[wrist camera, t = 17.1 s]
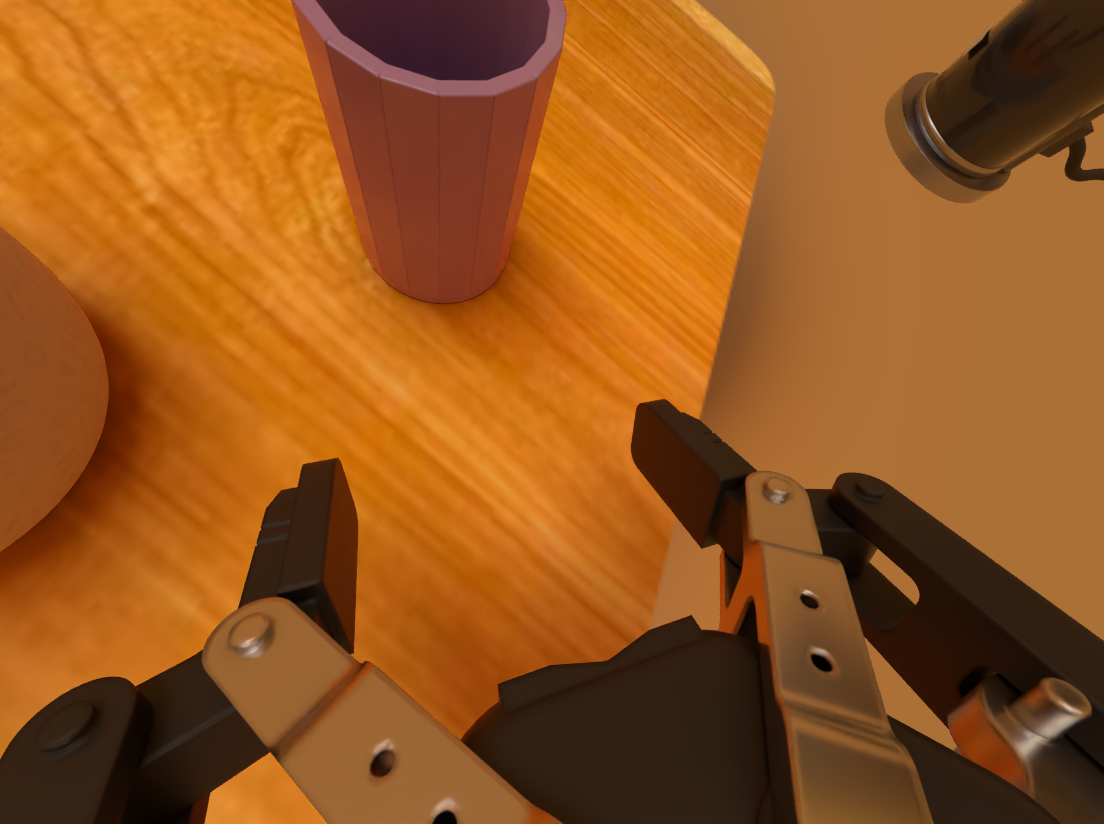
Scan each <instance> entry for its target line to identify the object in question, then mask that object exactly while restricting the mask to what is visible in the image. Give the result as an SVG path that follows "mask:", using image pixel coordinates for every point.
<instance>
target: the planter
mask: <svg viewBox="0 0 1104 824" xmlns="http://www.w3.org/2000/svg"><path fill="white" fill-rule="evenodd" d="M108 398H109V382H108V373H107V367H106V362H105V358H104V354H103V351H102V348H101V345H100V342H99V340H98V337H97V335H96V333H95V331H94V329H93V327H92V325H91V323H90V321H89V320H88V318H87V316H86V315H85V313H84V312H83V310H82V309H81V307H80V306H79V304H78V303H77V301H76V300H75V299H74V297H73V296H72V295H71V294H70V292H69V291H68V290H67V288H66V287H65V286H64V285H63V284H62V283H61V281H60V280H59V279H58V278H57V277H56V276H55V275H54V274H53V273H52V271H51V270H50V269H49V268H48V267H46V266H45V265H44V264H43V263H42V262H41V261H40V260H39V259H38V258H36V257H35V256H34V255H33V254H32V253H31V252H30V251H28V250H27V249H26V248H25V247H24V246H23V245H21V244H20V243H19V242H18V241H17V240H16V239H15V238H13V237H12V236H11V235H10V234H9V233H7V232H6V231H5V230H4V229H3V228H1V227H0V552H1V551H2V550H4V549H5V548H6V547H8V546H9V545H11V544H12V543H13V542H15V541H16V540H17V539H19V538H20V537H21V536H23V535H24V534H25V533H26V532H28V531H29V530H30V529H31V528H32V527H34V526H35V525H36V524H37V523H38V522H39V521H41V520H42V519H43V518H44V517H45V516H46V515H47V514H48V513H49V512H50V511H51V510H52V509H53V508H54V507H55V506H56V505H57V504H58V503H59V502H60V501H61V500H62V498H63V497H64V496H65V495H66V494H67V493H68V491H69V490H70V489H71V487H72V486H73V485H74V484H75V482H76V481H77V479H78V478H79V477H80V475H81V474H82V472H83V471H84V469H85V467H86V466H87V464H88V462H89V461H90V459H91V457H92V455H93V453H94V451H95V449H96V446H97V444H98V442H99V439H100V436H101V433H102V430H103V427H104V423H105V419H106V414H107V408H108Z"/></svg>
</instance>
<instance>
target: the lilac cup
mask: <svg viewBox="0 0 1104 824" xmlns="http://www.w3.org/2000/svg"><path fill="white" fill-rule="evenodd" d="M291 2H292V5H293V8H294V12H295V15H296V19H297V22H298V26H299V29H300V32H301V36H302V39H303V43H304V46H305V49H306V53H307V56H308V60H309V63H310V67H311V70H312V73H313V77H314V80H315V84H316V87H317V90H318V94H319V97H320V101H321V104H322V108H323V111H324V114H325V118H326V121H327V125H328V128H329V131H330V135H331V138H332V142H333V145H334V149H335V152H336V155H337V159H338V162H339V166H340V169H341V172H342V176H343V179H344V183H345V186H346V189H347V193H348V196H349V200H350V203H351V207H352V210H353V213H354V217H355V220H356V224H357V227H358V230H359V234H360V237H361V241H362V244H363V248H364V250H365V252H366V254H367V257H368V259H369V261H370V263H371V264H372V266H373V267H374V269H375V270H376V272H377V273H378V274H379V275H380V276H381V277H382V278H383V279H384V280H385V281H386V282H387V283H388V284H389V285H391V286H392V287H394V288H395V289H396V290H398V291H400V292H402V293H404V294H405V295H407V296H410V297H412V298H415V299H418V300H422V301H426V302H432V303H455V302H460V301H465V300H468V299H471V298H473V297H475V296H477V295H479V294H481V293H483V292H484V291H486V290H487V289H488V288H489V287H491V286H492V285H493V284H494V283H495V282H496V280H497V279H498V278H499V277H500V275H501V273H502V272H503V270H504V267H505V265H506V262H507V261H508V258H509V254H510V250H511V246H512V242H513V238H514V234H515V231H516V227H517V223H518V219H519V215H520V211H521V207H522V203H523V199H524V195H525V192H526V188H527V184H528V180H529V176H530V172H531V168H532V164H533V160H534V156H535V153H536V149H537V145H538V141H539V137H540V133H541V129H542V125H543V121H544V117H545V114H546V110H547V106H548V102H549V98H550V94H551V90H552V86H553V82H554V79H555V75H556V71H557V67H558V63H559V59H560V55H561V51H562V46H563V38H564V31H565V24H566V17H567V14H566V9H565V6H564V3H563V0H291Z"/></svg>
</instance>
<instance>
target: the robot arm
mask: <svg viewBox="0 0 1104 824" xmlns="http://www.w3.org/2000/svg"><path fill="white" fill-rule="evenodd" d="M992 24H993V23H992ZM992 24H991V25H992ZM991 25H990V26H989V27H987V29H985V30H984V31H983V32H982V33H981V34H980V35H979V36H977V37H976V38H975V39H974V40H973V42H972V43H971V45H970V46H969V48H968V49H967V50H966V51H965V52H964V53H963V54H962V55H961V56H960V57H958V58H957V59H956V60H955V61H954V62H953V63H952V64H951V65H949V66H948V68H946V69H945V70H944V71H943V72H942V73H940V74H939V75H938V76H936V77H934V78H933V79H932V80H930V81H929V82H928V83H927V84H926V85H925V86H924V87H923V88H922V89H921V90H920V91H919V92H918V94H917V96H916V99H915V115H916V119H917V123H918V125H919V128H920V130H921V132H922V134H923V136H924V138H925V139H926V141H927V142H928V144H929V145H930V146H931V148H932V149H933V150H934V152H935V153H936V154H937V155H938V156H939V157H940V158H941V159H942V160H943V161H945V162H946V163H947V164H948V165H950V166H951V167H952V168H954V169H956V170H957V171H959V172H961V173H963V174H966V175H969V176H972V177H978V178H982V177H988V176H990V175H992V174H994V173H996V172H998V173H1001V174H1005V173H1006V172H1008V171H1010V170H1011V169H1013V168H1015V167H1016V166H1018V165H1020V164H1021V163H1023V162H1024V161H1026V160H1028V159H1029V158H1031V157H1033V156H1034V155H1036V154H1038V153H1039V154H1041V155H1044V156H1046V157H1051V156H1053V155H1054V154H1056V153H1058V152H1059V151H1061V150H1062V149H1064V148H1066V147H1068V146H1069V151H1070V152H1069V157H1068V160H1067V162H1066V165H1065V174H1066V176H1067V177H1068V178H1069V179H1071V180H1074V181H1088V180H1104V169H1092V170H1082V169H1081V167H1080V166H1081V162H1082V160H1083V157H1084V155H1085V151H1086V143H1085V139H1084V137H1085V136H1086V135H1088V134H1090V133H1091V132H1093V131H1094V130H1093V126H1092V123H1091V121H1092V120H1093V119H1095V118H1096V117H1098V116H1100V115H1102V114H1103V113H1104V0H1022V1H1021V2H1020V3H1019V4H1018V5H1017V6H1016V7H1015V8H1013V9H1012V10H1011V11H1010V12H1009V13H1008V14H1007V15H1006V16H1004V17H1003V18H1002V19H1001V20H1000V21H999V22H998V23H997V24H995V25H994V26H993V27H992V28H991V29H990V30H989V28H990V27H991ZM988 30H989V31H988ZM987 31H988V32H987ZM631 453H632V458H633V461H634V463H635V465H636V466H637V468H638V469H639V470H640V472H641V473H642V474H643V475H644V477H645V478H646V479H647V480H648V482H649V483H650V484H651V485H652V487H653V488H654V489H655V491H656V492H657V493H658V494H659V496H660V497H661V498H662V499H663V501H664V502H665V503H666V504H667V506H668V507H669V508H670V509H671V511H672V512H673V513H674V515H675V516H676V517H677V518H678V520H679V521H680V522H681V523H682V525H683V526H684V527H685V528H686V530H687V531H688V532H689V533H690V535H691V536H692V537H693V539H694V540H695V541H696V542H697V544H698V545H699V546H700V547H701V549H702V548H705V547H708V546H711V545H715V544H719V545H720V546H721V547H722V552H721V555H720V624H719V630H718V631H715V630H701V629H700V627H699V626H698V624H697V623H696V621H695V620H694V618H693V617H692V615H690V616H688V617H685V618H682V619H680V620H677V621H674V622H671V623H668V624H665V625H662V626H660V627H657V628H654V629H651V630H648V631H647V632H646V633H644V634H643V635H642V636H640V637H639V638H638V639H636V640H635V641H634V642H632V643H631V644H630V645H628V646H627V647H626V648H624V649H623V650H622V651H620V652H619V653H618V654H616V655H615V656H614V657H612V658H611V659H609V660H607V661H602V662H589V663H575V664H561V665H550V666H547V667H544V668H541V669H538V670H536V671H533V672H530V673H527V674H524V675H522V676H519V677H516V678H513V679H510V680H508V681H505V682H502V683H499V684H498V693H499V702H498V703H496V704H495V705H494V706H492V707H491V708H489V709H488V710H487V711H486V712H485V713H484V714H483V715H482V716H481V717H480V718H478V719H477V720H476V722H475V723H474V724H473V725H472V726H471V727H470V729H469V730H468V731H467V732H466V733H465V735H464V736H463V737H462V739H461V740H459V739H458V738H457V737H456V736H454V735H453V734H452V733H451V732H450V731H449V730H448V729H447V728H446V727H444V726H443V725H442V724H441V723H440V722H439V721H438V720H437V719H435V718H434V717H433V716H432V715H431V714H430V713H429V712H428V711H426V710H425V709H424V708H423V707H422V706H421V705H420V704H419V703H417V702H416V701H415V700H414V699H413V698H412V697H411V696H410V695H408V694H407V693H406V692H405V691H404V690H403V689H402V688H401V687H399V686H398V685H397V684H396V683H395V682H394V681H393V680H392V679H390V678H389V677H388V676H387V675H386V674H385V673H384V672H383V671H381V670H380V669H379V668H378V667H377V666H375V665H374V664H372V663H371V662H368V661H365V662H364V663H363V664H361V663H359V662H358V661H357V660H355V659H354V658H353V657H352V656H351V655H350V654H353V653H354V636H355V607H356V578H357V549H358V519H357V513H356V508H355V504H354V501H353V498H352V495H351V492H350V488H349V485H348V482H347V479H346V476H345V473H344V470H343V467H342V464H341V461H340V460H339V458H335V459H329V460H324V461H318V462H313V463H307V464H303V466H302V469H301V474H300V479H299V483H298V487H296V488H291V489H286V490H281V491H280V492H279V493H278V495H277V496H276V497H275V498H274V500H273V501H272V502H271V503H270V504H269V506H268V507H267V508H266V511H265V514H264V518H263V521H262V525H261V531H260V532H259V536H258V539H257V546H255V550H254V553H253V557H252V561H251V564H250V568H249V571H248V575H247V578H246V582H245V585H244V589H243V593H242V596H241V600H240V603H239V606H238V609H237V610H236V611H234V612H233V613H231V614H230V615H229V616H228V617H226V618H225V619H224V620H223V621H222V622H221V623H220V624H219V625H218V626H217V627H216V628H215V629H214V631H213V632H212V633H211V635H210V636H209V638H208V639H207V642H206V644H205V646H204V649H203V650H201V651H200V652H198V653H197V654H196V655H194V656H192V657H190V658H189V659H187V660H185V661H183V662H181V663H179V664H177V665H176V666H174V667H172V668H170V669H168V670H166V671H164V672H162V673H160V674H158V675H156V676H154V677H153V678H151V679H149V680H147V681H145V682H143V683H141V684H139V685H137V686H134V685H133V684H132V683H131V682H130V681H128V680H127V679H125V678H121V677H104V678H100V679H96V680H92V681H89V682H87V683H84V684H82V685H80V686H78V687H75V688H73V689H71V690H70V691H68V692H66V693H64V694H63V695H61V696H59V697H58V698H56V699H55V700H54V701H52V702H51V703H49V704H48V705H47V706H45V707H44V708H43V709H42V710H40V711H39V712H38V713H37V714H36V715H35V716H33V717H32V718H31V719H30V720H29V721H28V722H27V723H26V724H25V725H24V726H23V727H22V729H21V730H20V731H19V732H18V733H17V734H16V736H15V737H14V738H13V740H12V741H11V742H10V744H9V745H8V747H7V749H6V750H5V752H4V754H3V756H2V757H1V759H0V824H204V823H205V818H206V812H207V807H208V802H209V797H210V792H212V791H213V790H214V789H216V788H217V787H219V786H220V785H222V784H223V783H225V782H226V781H228V780H229V779H231V778H232V777H234V776H235V775H237V774H238V773H240V772H241V771H243V770H244V769H246V768H247V767H249V766H250V765H252V764H253V763H255V762H256V761H258V760H259V759H260V758H262V757H263V756H265V755H266V754H268V753H269V752H271V753H272V754H273V756H274V757H275V758H276V760H277V761H278V762H279V763H280V765H281V766H282V767H283V768H284V770H285V771H286V772H287V773H288V775H289V776H290V777H291V778H292V780H293V781H294V782H295V783H296V785H297V786H298V787H299V788H300V790H301V791H302V792H303V793H304V794H305V796H306V797H307V798H308V799H309V801H310V802H311V803H312V804H313V806H314V807H315V808H316V809H317V811H318V812H319V813H320V814H321V816H322V817H323V818H324V819H325V821H326V822H327V823H328V824H1104V641H1103V640H1102V639H1100V638H1099V637H1097V636H1096V635H1095V634H1093V633H1092V632H1091V631H1089V630H1088V629H1087V628H1085V627H1084V626H1082V625H1081V624H1080V623H1078V622H1077V621H1076V620H1074V619H1073V618H1071V617H1070V616H1069V615H1067V614H1066V613H1065V612H1063V611H1062V610H1061V609H1059V608H1058V607H1056V606H1055V605H1054V604H1052V603H1051V602H1049V601H1048V600H1047V599H1045V598H1044V597H1043V596H1041V595H1040V594H1038V593H1037V592H1036V591H1034V590H1033V589H1032V588H1030V587H1029V586H1027V585H1026V584H1025V583H1023V582H1022V581H1021V580H1019V579H1018V578H1017V577H1015V576H1014V575H1012V574H1011V573H1010V572H1008V571H1007V570H1006V569H1004V568H1003V567H1001V566H1000V565H999V564H997V563H995V562H994V561H993V560H992V559H990V558H989V557H988V556H986V555H985V554H984V553H982V552H981V551H979V550H978V549H977V548H975V547H974V546H973V545H971V544H970V543H969V542H967V541H966V540H964V539H963V538H962V537H960V536H959V535H958V534H956V533H955V532H953V531H952V530H950V529H949V528H948V527H947V526H945V525H944V524H942V523H941V522H939V521H938V520H937V519H935V518H934V517H933V516H931V515H930V514H929V513H927V512H926V511H925V510H923V509H922V508H920V507H919V506H918V505H916V504H915V503H914V502H912V501H911V500H909V499H908V498H907V497H905V496H904V495H903V494H901V493H900V492H898V491H897V490H896V489H894V488H893V487H892V486H890V485H889V484H887V483H885V482H883V481H882V480H880V479H877V478H875V477H872V476H869V475H865V474H861V473H844V474H841V475H839V476H838V477H837V479H836V481H835V483H834V485H833V487H832V489H804V488H803V487H802V486H801V485H800V484H799V483H797V482H796V481H795V480H793V479H791V478H789V477H787V476H785V475H782V474H780V473H776V472H771V471H757V470H756V469H754V468H753V467H752V466H751V465H750V464H749V463H748V462H747V461H745V460H744V459H743V458H742V457H741V456H740V455H739V454H737V453H736V452H735V451H734V450H733V449H732V448H731V447H729V446H728V445H727V444H726V443H725V442H722V440H721V439H720V438H719V437H718V436H717V435H716V434H715V433H712V431H711V430H710V429H709V428H708V427H707V426H706V425H704V424H703V423H702V422H701V421H700V420H698V419H696V418H694V417H692V416H690V415H688V414H686V413H684V412H683V413H681V412H679V411H678V410H677V409H676V408H675V407H674V406H673V405H672V404H671V403H670V402H668V401H667V400H665V399H661V400H656V401H650V402H645V403H640V404H639V405H638V406H637V409H636V414H635V421H634V428H633V435H632V443H631ZM877 549H879V550H880V551H881V552H882V553H884V554H885V555H886V556H887V557H888V558H889V559H890V560H892V561H893V562H894V563H895V564H896V565H897V566H898V567H900V568H901V569H902V570H903V571H904V572H905V573H906V574H908V575H909V576H910V577H911V578H912V580H913V581H914V582H915V583H916V585H917V587H918V590H919V593H920V598H919V601H918V602H917V604H916V605H915V604H914V603H913V602H912V601H910V600H909V598H907V597H906V596H905V595H904V594H903V593H902V592H901V591H900V590H899V589H898V588H897V587H895V586H894V585H893V584H892V583H891V582H890V581H889V580H888V579H887V578H886V577H885V576H884V575H883V574H882V573H880V572H879V571H878V570H877V569H876V568H875V567H874V566H873V565H872V564H871V563H870V562H869V561H870V560H871V558H872V557H873V555H874V553H875V552H876V550H877ZM864 637H865V638H866V639H867V640H868V641H869V642H870V643H871V644H872V645H873V647H875V649H876V650H877V651H878V652H879V653H880V654H881V655H882V656H883V657H884V659H885V660H886V661H887V662H888V663H889V664H890V665H891V666H892V667H893V669H894V670H895V671H896V672H897V673H898V674H899V675H900V676H901V677H902V678H903V680H904V681H905V682H906V683H907V684H908V685H909V686H910V687H911V688H912V689H913V691H914V692H915V693H916V694H917V695H918V696H919V697H920V698H921V699H922V700H923V702H924V703H925V704H926V705H927V706H928V707H929V708H930V709H931V710H932V711H933V713H934V714H935V715H936V716H937V717H938V718H939V719H940V720H941V721H942V722H943V724H944V725H945V726H946V727H947V728H948V729H949V731H950V734H951V736H952V738H953V740H954V742H955V743H956V745H957V747H956V748H955V749H954V750H951V749H949V748H947V747H945V746H944V745H942V744H940V743H938V742H936V741H934V740H932V739H931V738H929V737H927V736H925V735H923V734H922V733H920V732H918V731H916V730H914V729H913V728H911V727H909V726H907V725H905V724H903V723H901V722H900V721H898V720H896V719H894V718H892V717H890V716H889V715H887V714H886V711H885V708H884V704H883V701H882V697H881V694H880V691H879V687H878V684H877V681H876V677H875V674H874V670H873V667H872V663H871V660H870V657H869V653H868V650H867V646H866V643H865V640H864Z"/></svg>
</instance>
